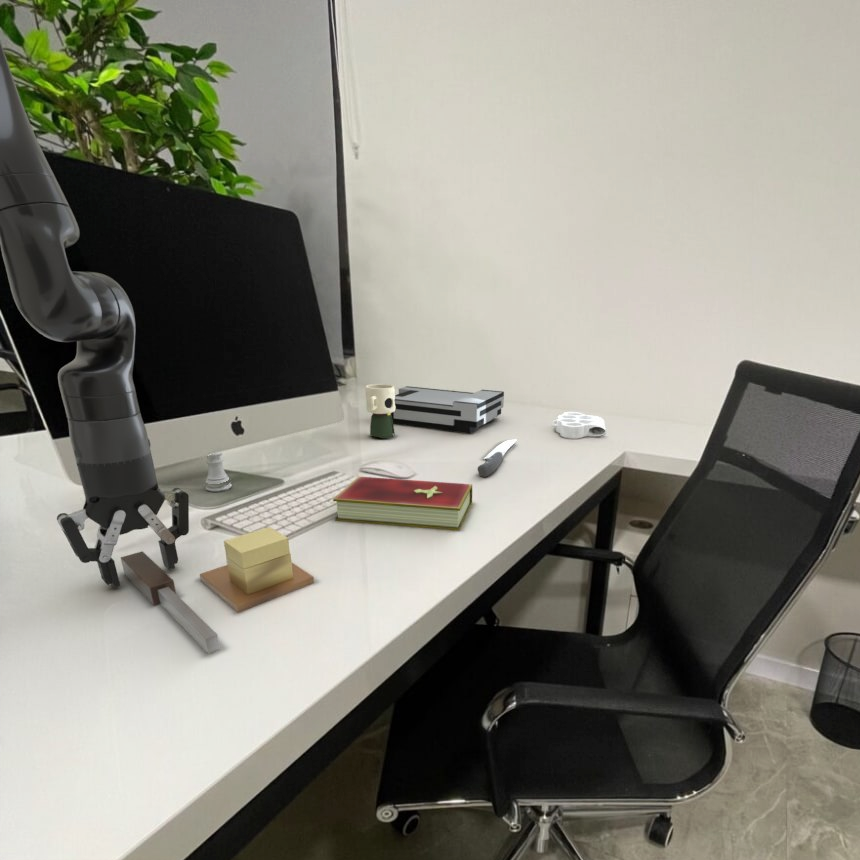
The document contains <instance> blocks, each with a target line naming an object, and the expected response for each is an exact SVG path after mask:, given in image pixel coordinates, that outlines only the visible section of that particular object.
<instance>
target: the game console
mask: <svg viewBox="0 0 860 860" xmlns="http://www.w3.org/2000/svg"><path fill="white" fill-rule="evenodd" d="M504 395H505V391H503V390H502V391H501V390H490V389H479V390H478V391H475V392H469V391H459V390H449V389H439V388H429V387H421V386H419V387H418V386H408V385H406V386H404V387H400V388H398V394H395V406H396V409H395V411H394V412H392V413H391V416H392V420H393V425H397V426H407V427H414V428H423V429H424V428H425V429H430V430H431V429H432V430H437V431H443V432H444V431H446V432H452V433H453V432H454V433H461V434H472V433H473V432H476V431H478V430H479V427H481V426H483V425H485V424H489V423H491V422H492V421H494V420H496V419H497V417H498V416H500V415H501V414H502V409H503V408H504V407H505V406H504V404H505V403H504V402H505V400H504V399H505V396H504Z"/></svg>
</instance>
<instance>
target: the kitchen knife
mask: <svg viewBox="0 0 860 860" xmlns="http://www.w3.org/2000/svg"><path fill="white" fill-rule="evenodd" d="M517 441H518V439H507V440H504V441H503V442H501V443H500V444H498V445H497V446H495V447H494V448H493V449H492V450H491V451H490V452H489V453H488V454H487V455H486V456H485V457H484V458H483V460H485V462H484V463H482V464H480V465H478V466H477V472H478V475H479V476H480V477H482V478H483V477H484V478H486V477H489V476H490V475H491V474H493V473H494V472H495V471H496V470H497V469H498V467H499V466H500V465H501V464H502V462H503V460H504V456H505V454H506V453H507V451H508V450H509V449H511V447H512V446H513V445H514V444H515V443H517Z"/></svg>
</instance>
